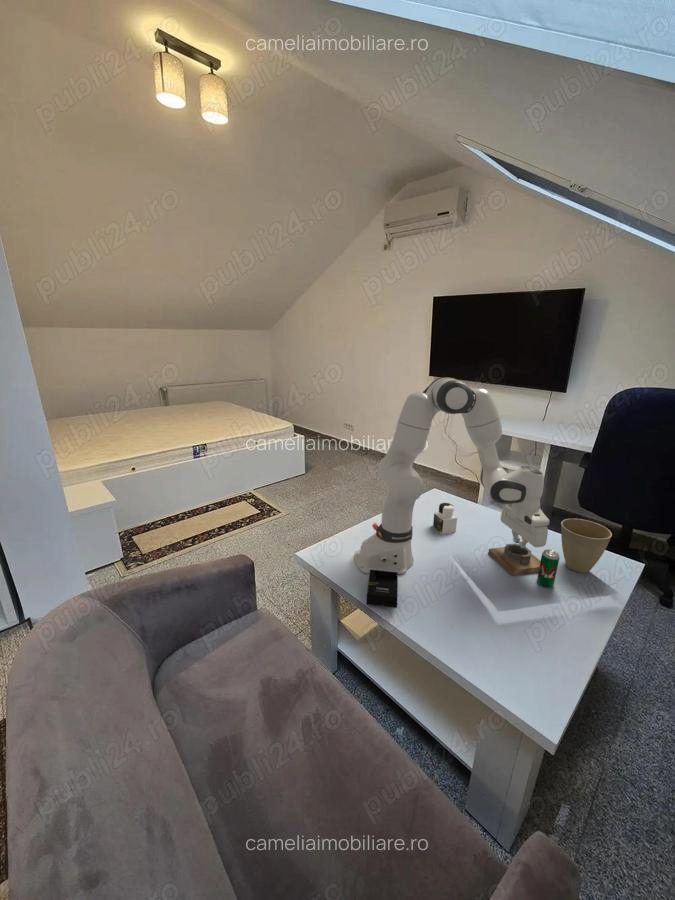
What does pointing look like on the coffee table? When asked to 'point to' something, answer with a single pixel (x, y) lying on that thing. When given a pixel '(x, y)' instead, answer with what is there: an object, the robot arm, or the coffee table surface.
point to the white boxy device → (445, 519)
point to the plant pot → (583, 543)
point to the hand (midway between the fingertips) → (518, 544)
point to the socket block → (515, 559)
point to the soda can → (548, 568)
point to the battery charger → (382, 588)
